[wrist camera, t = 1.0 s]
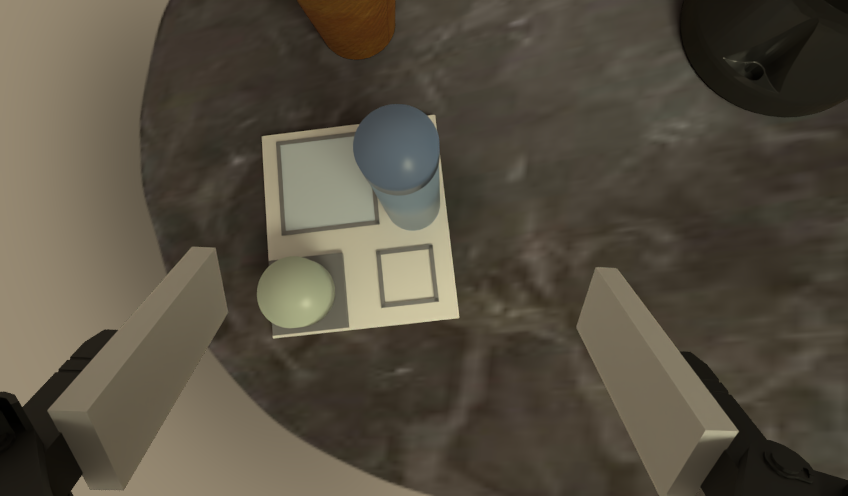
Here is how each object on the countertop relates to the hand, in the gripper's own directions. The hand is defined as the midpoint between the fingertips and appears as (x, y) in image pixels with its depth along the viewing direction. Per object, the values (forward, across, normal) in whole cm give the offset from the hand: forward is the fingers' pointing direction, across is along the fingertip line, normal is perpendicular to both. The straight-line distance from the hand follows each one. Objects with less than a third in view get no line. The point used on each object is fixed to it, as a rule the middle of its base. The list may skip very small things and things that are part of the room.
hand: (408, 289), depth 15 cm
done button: (+13, -7, -10) cm, 18 cm away
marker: (+18, 0, -5) cm, 19 cm away
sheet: (+18, -4, -7) cm, 20 cm away
